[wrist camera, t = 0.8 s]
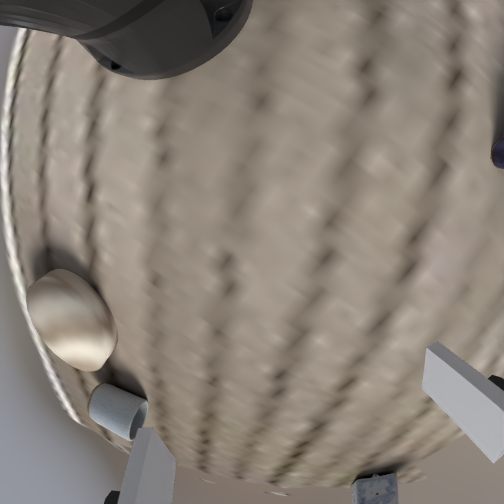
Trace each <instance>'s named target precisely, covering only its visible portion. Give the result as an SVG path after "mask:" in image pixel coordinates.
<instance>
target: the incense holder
mask: <svg viewBox="0 0 504 504" xmlns="http://www.w3.org/2000/svg"><path fill="white" fill-rule="evenodd" d="M351 490H352V499H353V500H352V501H353V504H398V484H397V474H396V473H392V474H388V475H383V476H379V475H378V474H373V476H372V477H371V478H365V479H358V480H356V481H355V482H354V483H353V484H352V485H351Z"/></svg>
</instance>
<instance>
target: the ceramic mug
mask: <svg viewBox="0 0 504 504" xmlns="http://www.w3.org/2000/svg"><path fill="white" fill-rule="evenodd" d="M87 411H88V414H89V416H90V417H91V418H92V419H93V420H94V421H95V422H97V423H98V424H100V425H102V426H103V427H105V428H107V429H109V430H110V431H112V432H114V433H115V434H117V435H119V436H121V437H123V438H124V439H126V440H128V441H133V440H134V439H135V437H136V433H137V430H138V428H142V427H143V425H144V422H145V419H146V416H147V412H148V402H147V400H145V399H143V398H140V397H138V396H136V395H133V394H131V393H129V392H126V391H124V390H121V389H119V388H117V387H115V386H113V385H110V384H107V383H101V384H99V385H98V386H96V387H95V388H94V390H93V391H92V393H91V394H90V397H89V399H88V404H87Z"/></svg>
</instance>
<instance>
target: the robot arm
mask: <svg viewBox="0 0 504 504" xmlns="http://www.w3.org/2000/svg"><path fill="white" fill-rule="evenodd" d="M252 2H253V0H0V25H3V26H12V27H19V28H26V29H32V30H38V31H43V32H48V33H53V34H58V35H63V36H66V37H70V38H74V39H76V40H77V41H78V42H79V43H80V44H81V45H82V46H83V47H84V48H85V49H86V50H87V51H88V52H89V53H90V54H91V55H92V56H93V57H94V58H95V59H96V60H97V61H98V62H99V63H100V64H101V65H102V66H103V67H105V68H106V69H108V70H110V71H112V72H114V73H117V74H120V75H123V76H127V77H131V78H135V79H141V80H157V79H164V78H169V77H173V76H177V75H180V74H182V73H185V72H188V71H190V70H192V69H194V68H196V67H198V66H200V65H202V64H204V63H205V62H207V61H209V60H210V59H212V58H213V57H214V56H216V55H217V54H218V53H220V52H221V51H222V50H223V49H224V48H225V47H227V46H228V45H229V44H230V43H231V42H232V40H233V39H234V38H235V37H236V36H237V35H238V33H239V32H240V31H241V29H242V28H243V26H244V24H245V23H246V21H247V19H248V16H249V14H250V11H251V8H252ZM422 389H423V390H424V391H425V392H426V393H427V394H428V395H429V396H430V397H431V398H432V399H433V400H434V401H435V402H436V403H437V404H438V405H439V406H440V407H441V408H442V409H443V410H444V411H445V412H446V413H447V415H448V416H449V417H450V418H451V419H452V420H453V421H454V422H455V423H456V424H457V425H458V426H459V427H460V428H461V429H462V430H463V431H464V432H465V433H466V434H467V435H468V437H470V439H471V440H472V441H473V442H474V443H475V444H476V445H477V446H478V447H479V448H480V449H481V450H482V452H483V453H484V454H485V455H486V456H487V457H488V458H489V459H490V460H491V461H492V462H493V463H494V462H496V461H497V460H498V459H499V458H500V457H501V456H502V455H503V454H504V379H503V378H501V377H498V376H494V375H491V376H490V377H489V378H488V379H487V378H486V377H485V376H483V375H482V374H481V373H480V372H478V371H477V370H476V369H474V368H473V367H472V366H470V365H469V364H468V363H466V362H465V361H464V360H462V359H461V358H460V357H458V356H457V355H456V354H454V353H453V352H452V351H450V350H449V349H448V348H446V347H445V346H443V345H442V344H441V343H439V342H438V341H437V342H436V343H434V344H432V345H430V346H428V347H426V357H425V367H424V375H423V382H422ZM175 467H176V459H175V458H174V457H173V456H172V454H171V453H170V451H169V450H168V449H167V447H166V446H165V445H164V443H163V442H162V440H161V439H160V437H159V436H158V435H157V433H156V432H155V430H154V429H153V427H148V428H138V430H137V433H136V437H135V440H134V444H133V447H132V451H131V454H130V458H129V461H128V465H127V469H126V472H125V476H124V480H123V484H122V487H121V491H111V492H110V493H109V495H108V496H107V497H106V499H105V502H104V504H172V495H173V485H174V476H175Z"/></svg>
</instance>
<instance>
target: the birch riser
mask: <svg viewBox="0 0 504 504" xmlns="http://www.w3.org/2000/svg"><path fill="white" fill-rule="evenodd" d="M26 303H27V309H28V312H29V316H30V318H31V321H32V323H33V325H34V327H35V329H36V330H37V332H38V334H39V335H40V337H41V338H42V339H43V341H44V342H45V343H46V344H47V346H48V347H49V348H50V349H51V350H52V351H53V352H54V353H55V354H56V355H57V356H59V357H60V358H61V359H62V360H64V361H65V362H67V363H68V364H70V365H72V366H73V367H75V368H78V369H80V370H84V371H96V370H99V369H100V368H101V367H102V365H103V364H104V363H105V361H106V360H107V358H108V357H109V356H110V354H111V353H112V352H113V350H114V349H115V347H116V345H117V342H118V332H117V327H116V323H115V321H114V318H113V316H112V314H111V312H110V310H109V308H108V307H107V305H106V304H105V302H104V301H103V299H102V298H101V297H100V295H99V294H98V293H97V292H96V291H95V290H94V288H93V287H92V286H90V285H89V284H88V283H87V282H86V281H85V280H84V279H82V278H81V277H79V276H78V275H76V274H74V273H73V272H70V271H68V270H64V269H54V270H51V271H50V272H48V273H47V274H45V275H44V276H43V277H41V278H40V279H39V280H37V281H36V282H35V283H33V284H32V285H31V286H30V287H29V289H28V291H27V296H26Z"/></svg>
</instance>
